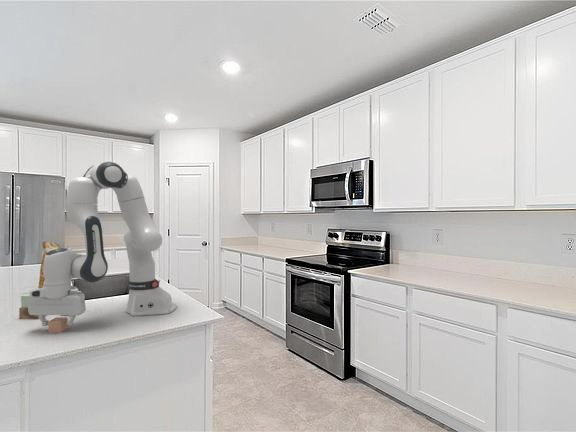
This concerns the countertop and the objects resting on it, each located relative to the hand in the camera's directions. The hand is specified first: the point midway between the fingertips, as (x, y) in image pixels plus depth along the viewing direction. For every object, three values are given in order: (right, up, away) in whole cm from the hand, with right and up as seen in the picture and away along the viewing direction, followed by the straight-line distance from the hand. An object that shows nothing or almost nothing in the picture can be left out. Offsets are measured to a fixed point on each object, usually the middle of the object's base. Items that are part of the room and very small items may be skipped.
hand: (57, 325), depth 128 cm
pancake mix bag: (-45, 0, +56) cm, 71 cm away
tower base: (-21, -1, +16) cm, 27 cm away
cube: (0, -2, 0) cm, 2 cm away
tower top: (-21, +4, +16) cm, 27 cm away
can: (-8, -1, +20) cm, 22 cm away
